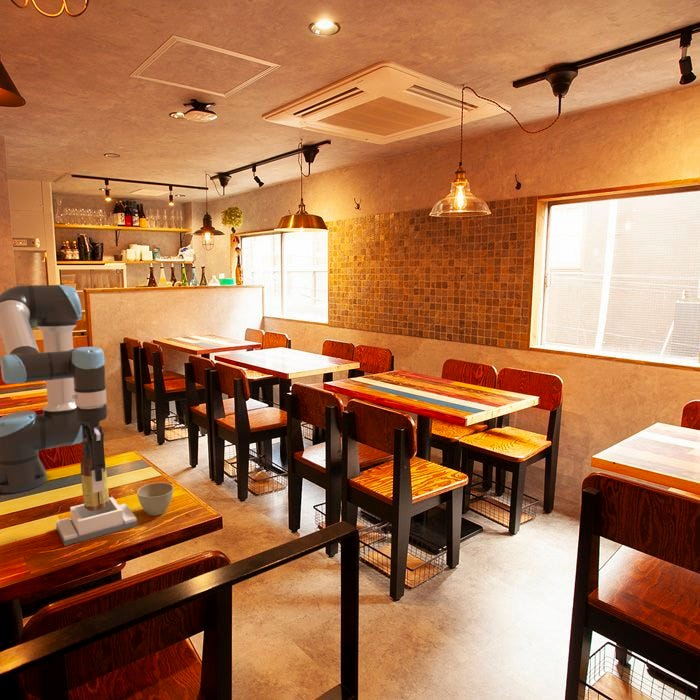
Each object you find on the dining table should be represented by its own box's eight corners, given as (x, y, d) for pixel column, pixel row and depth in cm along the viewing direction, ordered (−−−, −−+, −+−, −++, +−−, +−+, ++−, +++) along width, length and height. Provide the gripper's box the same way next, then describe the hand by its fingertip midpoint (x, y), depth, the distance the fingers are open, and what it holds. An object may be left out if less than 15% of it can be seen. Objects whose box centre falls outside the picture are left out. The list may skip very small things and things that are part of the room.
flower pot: (139, 506, 155) (138, 484, 154) (174, 502, 158) (173, 480, 157) (136, 522, 146) (135, 498, 145) (173, 518, 149) (173, 494, 148)
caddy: (56, 528, 141) (55, 509, 140) (125, 510, 152) (124, 493, 151) (64, 546, 133) (63, 526, 132) (137, 525, 144) (136, 507, 143)
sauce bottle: (106, 499, 146) (103, 432, 143) (111, 508, 141) (108, 439, 138) (80, 505, 142) (77, 436, 139) (85, 514, 137) (81, 443, 134)
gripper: (67, 399, 142) (72, 478, 145) (83, 415, 127) (88, 503, 131) (97, 395, 147) (100, 472, 150) (115, 411, 132) (119, 496, 135)
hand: (95, 486), depth 140 cm, fingers closed on sauce bottle, 6 cm apart
